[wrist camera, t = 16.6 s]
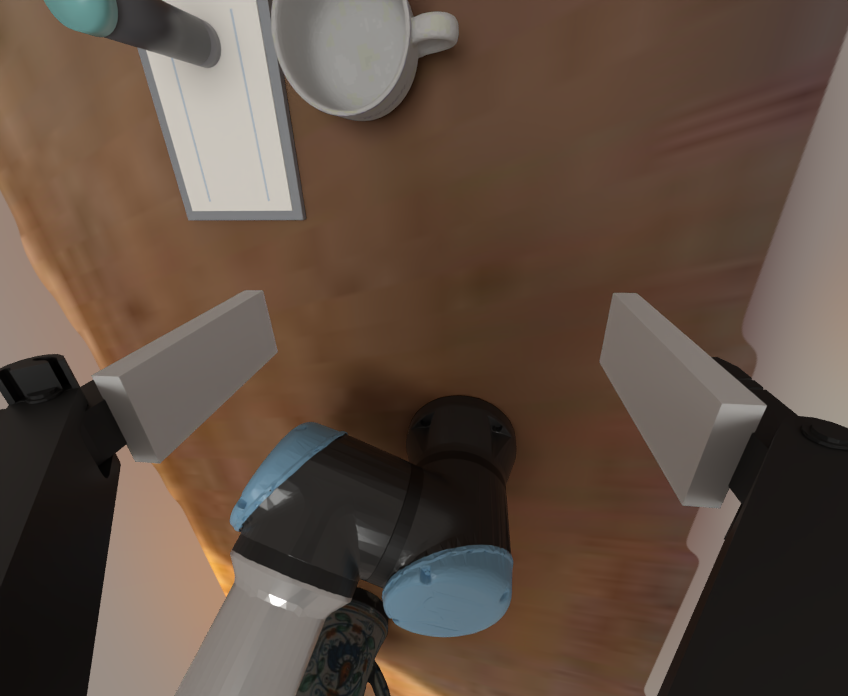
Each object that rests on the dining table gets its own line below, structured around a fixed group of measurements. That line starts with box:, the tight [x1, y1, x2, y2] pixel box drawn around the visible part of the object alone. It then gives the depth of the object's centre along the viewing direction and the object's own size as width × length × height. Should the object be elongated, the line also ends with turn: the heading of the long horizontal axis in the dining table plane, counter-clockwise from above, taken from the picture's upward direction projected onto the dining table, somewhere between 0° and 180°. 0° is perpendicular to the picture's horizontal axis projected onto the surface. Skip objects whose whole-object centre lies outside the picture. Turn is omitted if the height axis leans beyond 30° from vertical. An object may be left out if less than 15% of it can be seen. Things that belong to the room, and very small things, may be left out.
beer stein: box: [296, 587, 390, 696], centre depth 66 cm, size 16×19×25 cm
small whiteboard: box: [137, 0, 306, 220], centre depth 38 cm, size 20×14×1 cm
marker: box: [44, 0, 221, 68], centre depth 29 cm, size 4×4×13 cm
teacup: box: [271, 0, 459, 121], centre depth 31 cm, size 14×11×8 cm
